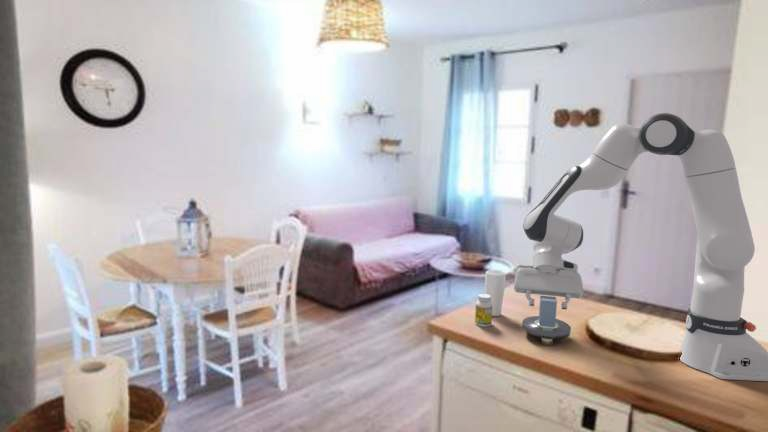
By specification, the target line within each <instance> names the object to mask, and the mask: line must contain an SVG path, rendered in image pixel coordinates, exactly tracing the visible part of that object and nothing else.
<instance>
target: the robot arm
mask: <svg viewBox="0 0 768 432" xmlns="http://www.w3.org/2000/svg"><path fill="white" fill-rule="evenodd" d="M646 152H647V153H648V152H649V153H651V154H656V155H660V156H677V157H679V159H680V161H681V164H682V167H683V173H684V177H685V182H686V187H687V192H688V193H687V194H688V197H689V202H690V207H691V212H692V216H693V220H694V224H695V229H696V230H695V231H696V233H697V238H696V239H697V240H696V250H695V259H694V261H695V262H694V274H693V275H694V276H693V283H692V284H693V285H692V291H691V292H692V293H691V301H690V307H689V308H687V309H688V310H687V315H686V319H685V329H686V330H685V335H684V338H683V340H682V343H681V347H680V348H681V350H682V355H681V357H680V360H679V361H680V362H682V363H684V364H685V365H687V366H688V367H691V368H693V369H695V370H698V371H701V372H703V373H707V374H709V375H711V376H713V377H715V378H718V379H721V380H734V381H735V380H738V381H754V382H755V381H756V382H758V381H759V382H768V350H767V349H766V348H765V347H764V346H763V344H761V343H759V342H758V340H756V339H755V338H754V337H752V336H751V335H750V334H749V333H747V331H748V332H755V331H756V329H757V326H756V325H755V324H753V323H752V322H749V321H747V320H746V319H744V318H743V317H741V314H742V309H743V301H744V295H745V294H744V293H745V267H746V266H748V264H749V263H750V262H751V261H752V259H753V258H754V255H755V252H756V251H755V250H756V249H755V243H754V238H753V234H752V229H751V226H750V222H749V219H748V215H747V211H746V207H745V203H744V201H743V197H742V193H741V187H740V182H739V178H738V177H739V176H738V172H737V166H736V162H735V159H734V155H733V152H732V149H731V147H730V144H729V141H728V140H727V138H726V136H725V134H723V133H722V132H721V131H719V130H715V129H703V130H693V129H692V128H691V127H690V126H689V125H688V123H687V122H686V121H685V119H683V118H682V117H681V116H679V115H677V114H674V113H669V112H668V113H667V112H665V113H664V112H663V113H658V114H654V115H652V116H650V117H649V118H647V119H646V120H645V121H644V122H643V124H642V125H641V126H635V125H632V124H630V123H629V124H628V123H617V124H615V125H613V126H612V127H611V128H610V129H609V130H608V131H606V133H605V134H604V135H603V137H602V138H601V139H600V140H599V141H598V143H597V145H595V148H594V149H593V150H592V153H590V154H589V156H588V157H587V159H585V160H584V161H583V162H581V163H580V164H578V165H576V166H575V165H574V166H572V167H570V168H569V169H568V170H567V171H566V172H565V173H564V174H563V175H562V176H561V177H560V178H559V180H557V182H556V183H555V184H554V186H552V188H551V189H550V190H549V192H548V193H546V195H545V196H544V197H543V198H542V200H541V201H540V202H539V203H538V204H537V206H535V207H534V208H533V209H532V210H531V211H530V212H529V213H528V214H527V215H526V217H525V218H524V221H523V225H522V226H523V231H524V233H525V235H526V237H527V238H528V239H529V240H531V241H532V242H533V243H532V245H533V246H532V249H533V251H534V254H533V259H532V265H522V264H519V265H517V266H515V267H514V268H513V276H514V282H513V283H514V286H513V289H514V291H515V293H519V294H524V295H525V297H526V299H527V301H528V306H529V307H534V306H535V298H532V296H531V295H539V296H549V297H561V298H562V297H563V298H564V300H565V301H562V302H561V310H565V311H566V310H568V303H569V302H570V301H571V299H580V298H581V297H582V296H583V293H584V284H583V280H582V276H581V274H580V273H579V272H578V270H579V268H578V266H579V265H578V264H577V263H575V262H572V261H568V260H565V259H563V257H562V256H563V254H564V255H566V254H569V253H571V252H573V251H576V249H579V247H581V245H582V244H583V242H584V229H583V226H582V225H581V224H580V223H579V222H576V221H574V220H572V219H569V218H566V217H563V216H560V215H559V214H558V215H557V214H555V213H556V212H557V210H559V208H560V207H561V206H562V204H564V202H565V201H566V200H567V199H568V198H569V196H570V195H573V194H574V193H576V192H579V191H588V190H591V191H594V190H595V191H601V190H608V189H611V188H613V187H615V186H617V185H619V183H620V182H621V181H622V180H623V179H624V178H625V176H626V174H627V173H628V171H629V170H630V168H631V167H632V165H634V164H633V163H634V162H635V161H636V159H637V158H638V157H639V156H640V155H642V154H643V153H646Z"/></svg>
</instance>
